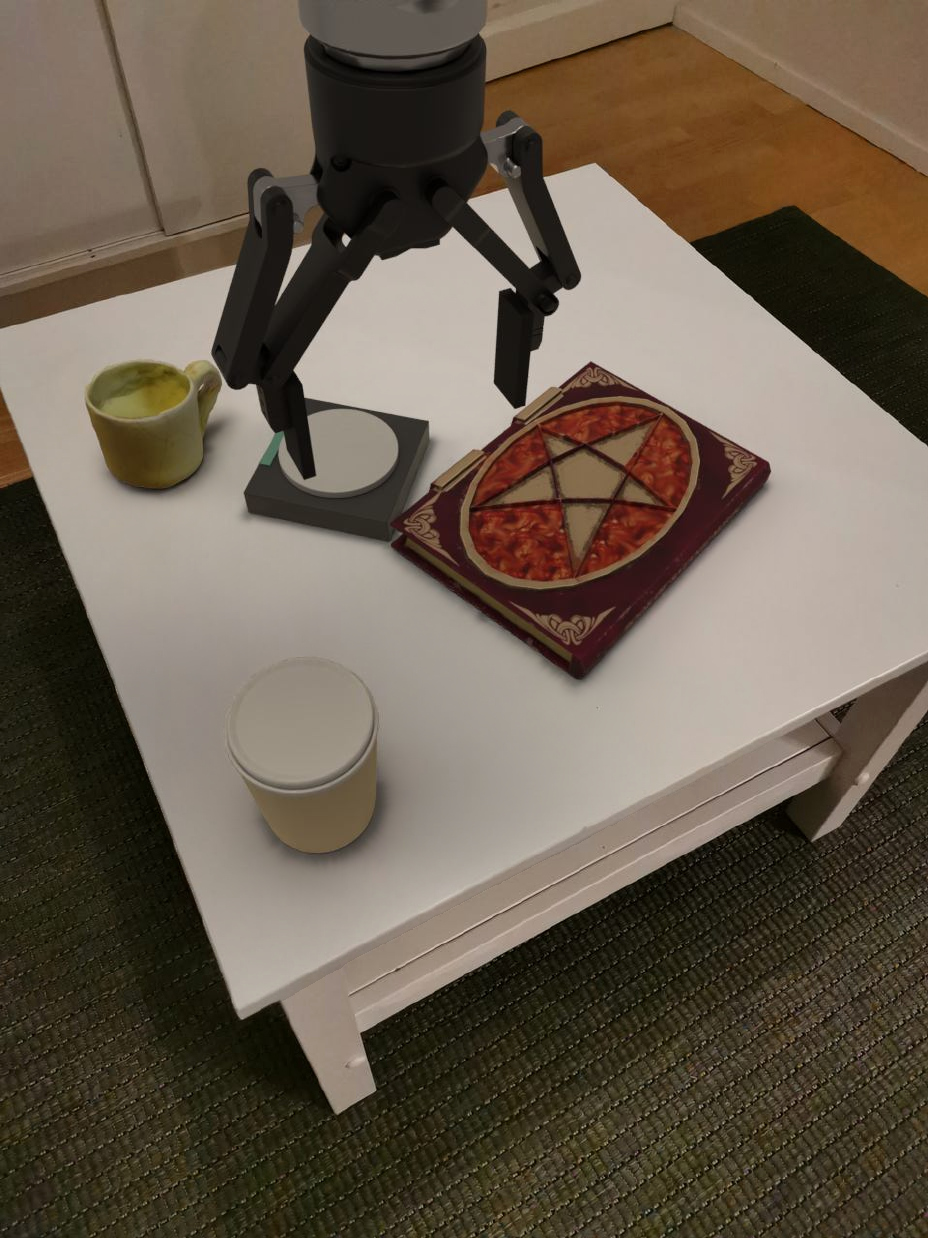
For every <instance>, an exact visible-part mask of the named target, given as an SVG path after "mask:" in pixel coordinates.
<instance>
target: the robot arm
mask: <svg viewBox="0 0 928 1238" xmlns="http://www.w3.org/2000/svg"><path fill="white" fill-rule="evenodd" d="M488 1H489V0H297V5H298V17H299V20H300V23H301V25H302V26H301V27H303V28H304V29H305V31H307V32H308V33H309V35H308V36H307V38H306V39H305V42H304V45H303V56H304V64H305V75H306V83H307V92H308V102H309V111H310V120H311V128H312V134H313V136H312V137H313V142H314V157H313V162H312V164H311V168H310V171H309V173H308V174H302V175H300V174H299V175H292V176H283V177H274V175H273V173H272V172H271V171H270V170H269V169H267V168H265V167H257V168H254V169H253V170H252V171H251V172H250V173H249V175H248V176H247V180H246V181H247V182H246V183H247V200H248V217H249V220H248V224H247V227H246V231H245V233H244V237H243V239H242V244H241V246H240V247H241V248H240V249H239V250H240V251H239V254H238V257H237V258H238V259H237V261H236V263H235V268H234V271H233V275H232V278H231V280H230V281H231V282H230V285H229V289H228V292H227V295H226V299H225V302H224V306H223V309H222V312H221V316H220V319H219V323H218V326H217V330H216V333H215V336H214V340H213V344H212V346H211V352H210V354H211V357H212V360H213V361H214V363H215V365H216V366H217V368H218V371H219V373H220V375H221V377H223V379H224V382H225V383H226V385H227V387H228V388H230V389H231V390H234V391H240V390H243V389H245V388H246V387H247V386H248V385H255V386H256V393H257V397H258V402H259V406H260V411H261V414H262V416H263V417H264V419H265V421H266V422H267V424H268V426H269V427H270V429H271V430H272V431H273V433H274V434H276V433H278V432H281V431H283V432H284V437H285V442H286V448H287V451H288V453H289V455H290V456H291V458H292V460H293V462H294V463H295V465H296V467H297V469H298V470H299V472H300V474H301V476H302V477H303V479H304V480H306V479H309V478H312V477H315V476H316V470H315V463H314V456H313V450H312V443H311V437H310V430H309V424H308V417H307V410H306V404H305V398H306V396H305V393H304V392H305V391H304V386H303V383H302V382H301V380H300V378H299V377H298V374H296V372H295V369H296V366H297V365H298V364H299V362H300V360H301V359H302V358H303V356H304V354H305V353H306V351H307V350H308V348H309V347H310V345H311V344H312V342H313V340H314V339H315V337H316V336H317V334H318V333H319V331H320V330H321V328H322V327H323V325H324V323H325V321H326V320H327V318H328V317H329V315H330V314H331V312H332V311H333V309H334V307H336V304H337V303H338V301H339V300H340V298H341V297H342V295H343V293H344V292H345V291H346V288H347V287H348V286H349V284H350V283H351V282H355V281H359V279H361V277H363V274H364V273H365V271H367V268H368V267H369V265H370V263H371V262H372V260H373V259H374V257H379V259H380V260H381V261H386V260H389V259H392V258H396V257H399V256H400V255H402V254H404V253H406V252H408V251H409V250H412V249H415V250H417V249H418V250H420V249H423V250H425V249H429V248H434V247H437V246H441V239H443V238H444V237H445V236H447V235H448V233H450V232H451V231H452V229H454V230H455V231H456V232H457V233H458V234H459V235H460V236H461V237H462V238H463V239H464V240H465V241H466V242H467V243H468V244H469V245H470V246H471V247H472V248H474V249H475V250H476V252H478V253H479V254H480V255H481V256H482V257H483V258H484V259H485V260H486V261H487V262H488V263H490V265H491V266H492V267H493V268H494V269H495V270H496V271H497V272H498V273H499V274H500V275H501V276H502V277H503V278H504V279H506V280H507V282H508V283H509V284H510V285H511V286H513V288H514V289H515V291H514V289H513V288H512V287H508V288H505V289H501V290H498V299H497V300H498V301H497V315H496V317H497V319H496V336H495V351H494V352H495V353H494V368H493V369H494V370H493V384H494V386H495V387H496V388H497V389H498V391H499V392H500V393H501V395H502V396H503V397H504V398H505V399H506V400H507V402H508V403H509V404H510V406H511V407H512V408H513V410H517V409H520V408H523V407H526V405H527V392H528V385H529V383H528V382H529V372H530V362H531V353H532V352H534V351H537V350H539V349H540V347H541V345H542V342H543V337H544V326H545V319H546V318H545V317H549V316H552V315H553V314H554V313H556V311H558V309H559V306H560V300H559V298H558V297H557V296H556V293H557V292H558V291H560V290H562V289H564V290H565V291H572V290H573V289H576V287H578V286H579V284H580V283H581V280H582V273H581V270H580V267H579V265H578V262H577V260H576V257H575V254H574V252H573V248H572V247H571V245H570V242H569V239H568V236H567V234H566V232H565V230H564V227H563V224H562V221H561V219H560V216H559V214H558V211H557V208H556V206H555V203H554V201H553V199H552V196H551V193H550V191H549V188H548V186H547V183H546V181H545V177H544V159H543V157H544V156H543V155H544V154H543V153H544V152H543V150H544V149H543V148H544V147H543V144H544V143H543V138H542V136H541V135H540V134H539V133H538V132H537V130H535V129H534V128H533V127H532V126H531V125H530V124H528V123H527V122H526V121H525V120H524V119H523V118H522V117H521V116H520V115H519V114H517V113H516V112H515V111H513V110H511V109H510V110H505V111H503V112H501V114H500V115H499V116H498V117H497V120H496V122H495V127H494V128H490V129H488V130H485V131H483V132H482V130H483V128H484V127H483V126H484V121H485V108H486V107H485V103H486V78H487V77H486V76H487V51H488V50H487V44H486V42H485V39H484V38H483V36H482V35H481V34H480V32H481V31H482V30H483V29H484V27H485V26H486V23H487V18H488ZM489 164H490V167H492V168H493V170H495V171H496V172H497V173H498V174H499V176H501V177H502V179H503V181H504V183H505V186H506V187H507V190H508V192H509V195H510V196H511V199H512V202H513V203H514V206H515V208H516V210H517V213H518V215H519V217H520V220H521V222H522V224H523V226H524V229H525V231H526V233H527V235H528V238H529V240H530V243H531V244H532V247H533V250H534V252H535V254H536V256H537V258H538V261H539V262H537V263H535V264H534V265H532V266H531V267H529V266H528V265H527V264H526V263H525V262H524V260H523V259H522V258H520V257H519V255H517V253H516V252H515V251H514V250H513V249H512V248H511V247H510V246H509V245H508V244H507V243H506V241H504V240H503V239H502V238H501V236H499V235H498V234H497V233H496V231H495V230H493V228H492V227H491V226H490V225H489V224H488V223H487V222H486V220H484V219H483V218H482V217H481V216H480V215H479V214H478V213H477V211H475V209H473V207H472V206H471V205H469V203H468V202H469V201H470V199H471V197H472V195H473V194H474V192H475V190H476V189H477V187H478V185H479V184H480V182H481V181H482V179H483V177H484V176H485V173H486V171H487V168H488V165H489ZM315 207H316V208H317V207H319V208H320V209H321V211H322V212H323V213H322V215H321V217H320V219H319V220H318V222H317V224H316V225H315V227H314V229H313V231H312V233H311V244H310V246H309V249H308V250H307V251H306V253H305V255H304V256H303V258H302V260H301V261H300V263H299V265H298V266H297V268H296V270H295V271H294V273H293V274H292V276H291V278H290V280H289V282H288V283H287V285H286V286H285V287H284V289H283V291H282V293H281V295H280V292H281V288H282V286H283V282H284V279H285V276H286V273H287V270H288V268H289V264H290V261H291V258H292V252H293V247H294V235H299V234H301V233H302V232H303V231H304V228H305V225H304V223H305V220H306V216H307V214H308V212H309V211H311V210H312V209H313V208H315ZM344 235H346V236H347V237H348V238H349V239H350V240H349V241H348V243H347V245H345V244H344V242H343V237H344ZM279 295H280V296H279ZM278 297H279V298H278Z"/></svg>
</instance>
